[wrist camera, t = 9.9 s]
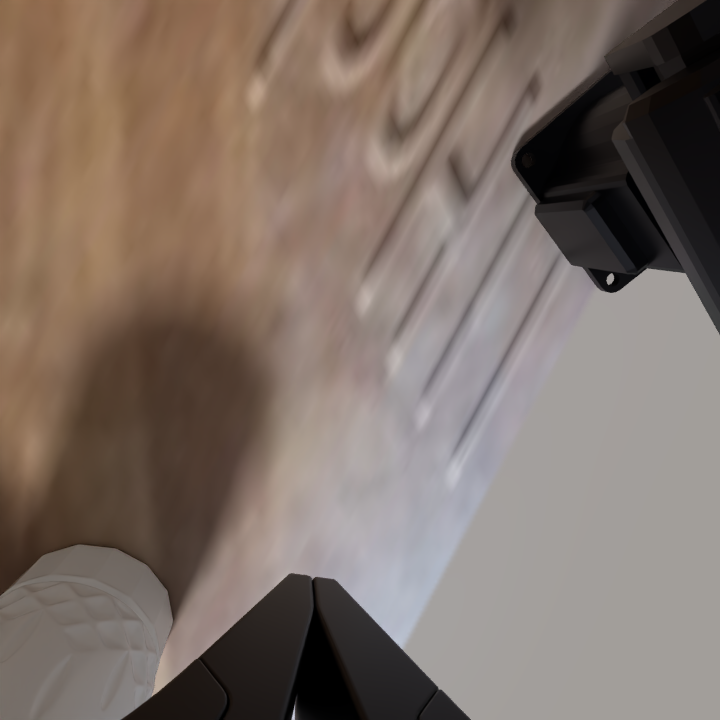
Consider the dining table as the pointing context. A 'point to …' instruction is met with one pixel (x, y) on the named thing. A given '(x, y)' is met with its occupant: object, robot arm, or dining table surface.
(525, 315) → the dining table surface
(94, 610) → the white cup
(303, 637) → the robot arm
